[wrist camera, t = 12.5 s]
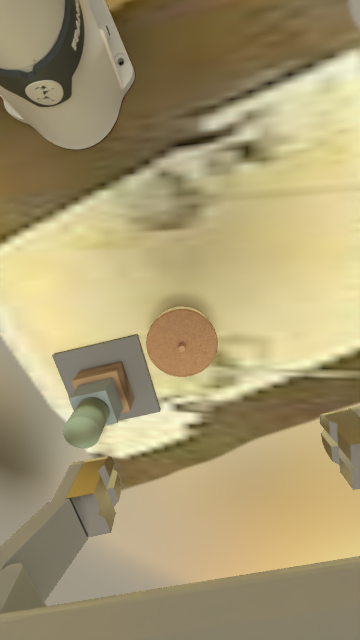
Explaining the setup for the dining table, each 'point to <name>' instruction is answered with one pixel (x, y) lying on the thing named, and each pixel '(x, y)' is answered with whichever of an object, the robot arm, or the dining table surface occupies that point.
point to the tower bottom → (107, 372)
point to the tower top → (100, 397)
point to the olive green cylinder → (86, 423)
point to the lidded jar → (181, 342)
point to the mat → (111, 353)
